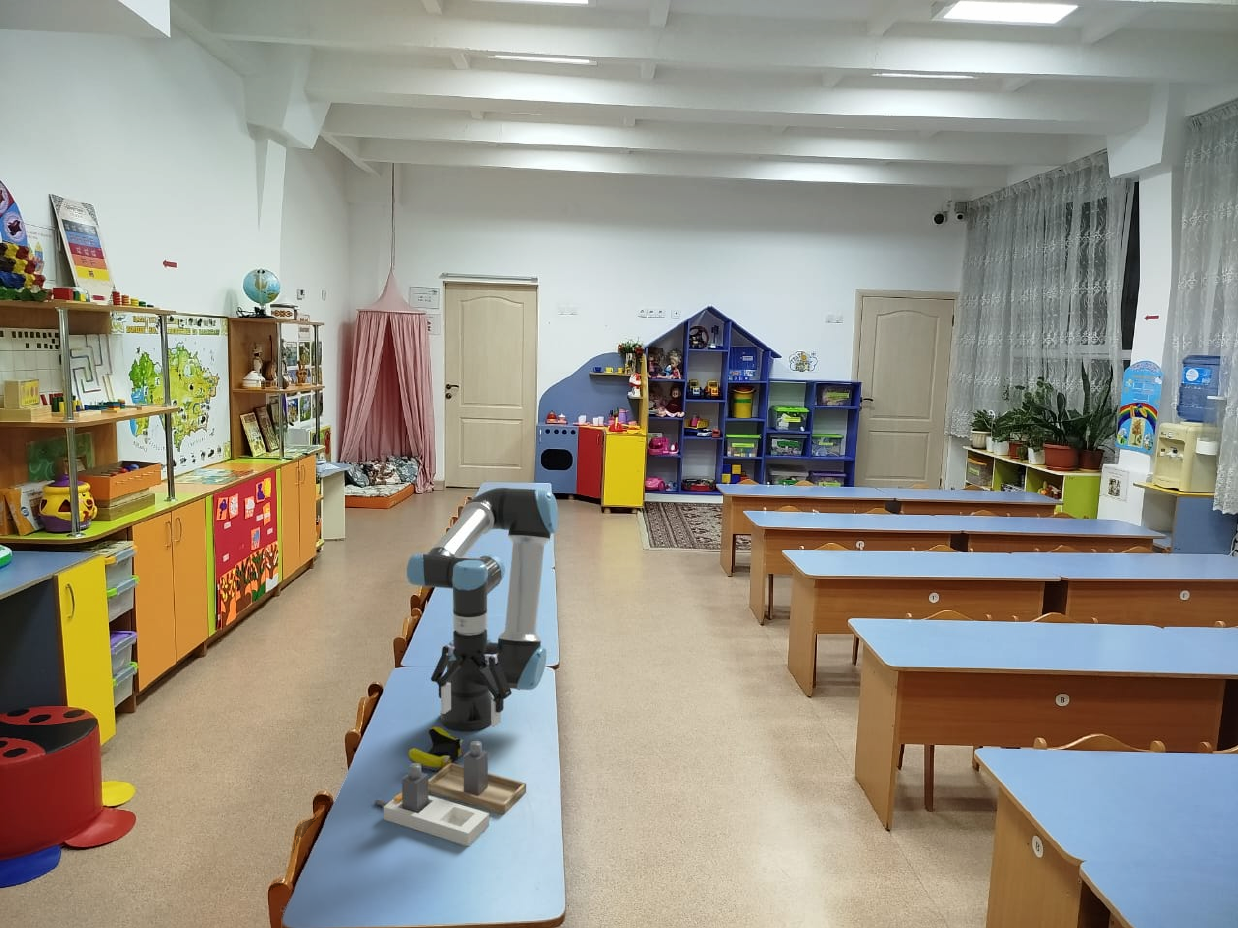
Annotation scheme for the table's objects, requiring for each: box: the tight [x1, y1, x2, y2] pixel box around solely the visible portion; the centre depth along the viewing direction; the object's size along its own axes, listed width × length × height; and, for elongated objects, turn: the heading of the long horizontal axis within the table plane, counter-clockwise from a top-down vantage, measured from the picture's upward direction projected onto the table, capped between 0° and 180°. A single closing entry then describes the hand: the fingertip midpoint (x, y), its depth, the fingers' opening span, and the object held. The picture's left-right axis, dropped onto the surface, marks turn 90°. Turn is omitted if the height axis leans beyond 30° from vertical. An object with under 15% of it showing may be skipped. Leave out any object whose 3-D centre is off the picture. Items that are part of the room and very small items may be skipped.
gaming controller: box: [408, 726, 464, 772], centre depth 207 cm, size 15×6×10 cm
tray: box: [428, 762, 527, 815], centre depth 194 cm, size 10×21×2 cm, turn 66°
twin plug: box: [401, 762, 429, 813], centre depth 183 cm, size 4×4×12 cm
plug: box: [463, 740, 489, 796], centre depth 193 cm, size 4×4×12 cm
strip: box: [374, 791, 490, 847], centre depth 182 cm, size 8×28×4 cm, turn 66°
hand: (470, 717), depth 190 cm, fingers open, 13 cm apart
